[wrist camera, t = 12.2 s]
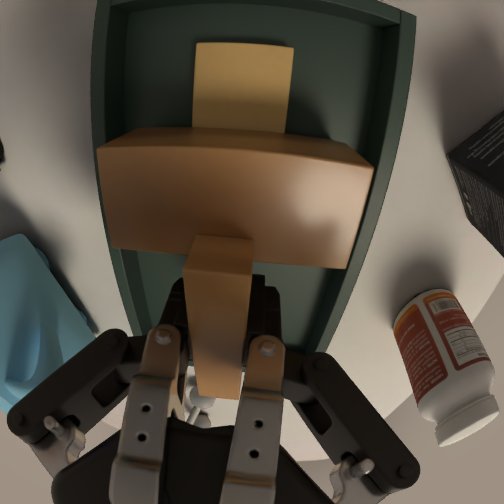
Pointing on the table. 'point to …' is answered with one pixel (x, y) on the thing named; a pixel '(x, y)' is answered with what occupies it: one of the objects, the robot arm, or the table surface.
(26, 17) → the table surface
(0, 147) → the toy car
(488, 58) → the table surface
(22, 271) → the teapot
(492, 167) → the box
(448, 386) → the pill bottle
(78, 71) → the table surface
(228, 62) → the tan square tile
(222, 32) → the tray
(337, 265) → the brush
